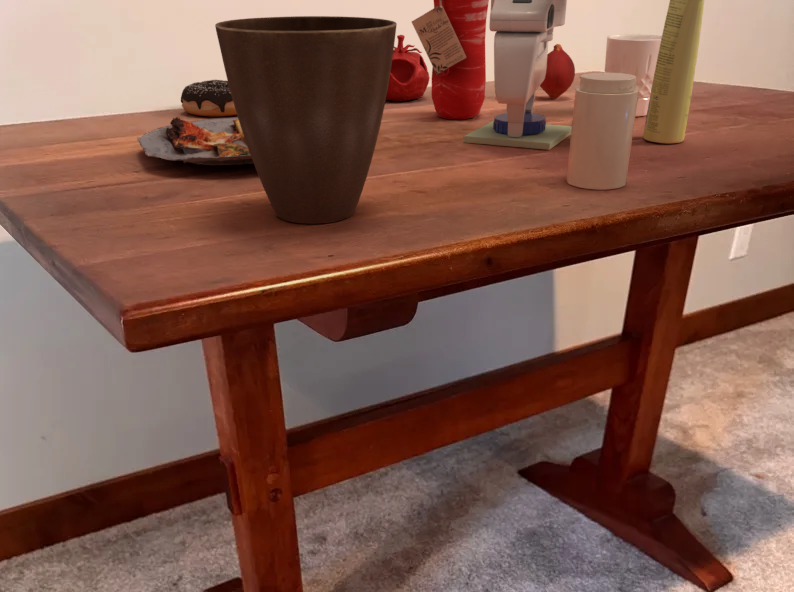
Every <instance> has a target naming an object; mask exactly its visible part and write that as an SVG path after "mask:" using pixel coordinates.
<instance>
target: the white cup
mask: <svg viewBox="0 0 794 592" xmlns="http://www.w3.org/2000/svg"><path fill="white" fill-rule="evenodd" d="M661 38H662V35H655V34H640V33H638V34H634V33H633V34H626V33H625V34H613V35H608V36H607V37H606V45H605V46H606V47H605V61H604V72H606V73H624V74H631V75H634V76H636V83H637V86H635V88H636V89H638V90H639V93H638V100H637V107H636V115H635V118H636V117H647V111H648V105H649V100H650V94H651V89H652V83H653V78H654V73H655V68H656V63H657V58H658V53H659V48H660V43H661Z"/></svg>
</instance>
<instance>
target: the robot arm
mask: <svg viewBox="0 0 794 592" xmlns="http://www.w3.org/2000/svg"><path fill="white" fill-rule="evenodd" d="M567 3H568V0H490V13H489V25H488V27H489V31H490V32H495V33H494V38H493V73H494V74H493V76H494V93H495V100H496V102H497V103H498V104H501V105H506V113H507V117H508V136H509V137H513V138H519V137H521V136H522V134H523V132H524V113H533V109H534V103H535V100H536V95H537V93H536V92H537V90H538V89H539V87H540V85H541V83H542V82H543V81H544V79H545V76H546V69H547V55H548V53H549V52H548V51H549V42H551V41H553V39H554V28H555V27H561V26H564V25H565V23H566V13H567Z"/></svg>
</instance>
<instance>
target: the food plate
mask: <svg viewBox="0 0 794 592" xmlns="http://www.w3.org/2000/svg"><path fill="white" fill-rule="evenodd" d="M136 141H138V143H139V145H140V147H141V149H142V151H144V154H145V156H147V157H154V158H161V159H162V160H163V159H164V160H167V161H172V162H176V161H181V162H183V164H187V163H192V164H195V165H199V166H200V165H204V166H240V165H248V164H249V165H250V164H251V165H254V163H253V160H252V157H251V155H250V152H249V149H248V146H247V143H246V141H245V138H244V135H243V132H242V129H241V126H240V122H239V119H238V116H236V117H213V118H207V119H196V120H191V121H188V120H187V121H186V120H184V119H181V117H180V116H176V117H175V118H174V117H173V118H172V119H171V121H170V125H165V126H161V127H157V128H155V129H153V130H150V131H147V132H145V133H143V135H141V136H139V137H137V138H136Z"/></svg>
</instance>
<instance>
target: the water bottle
mask: <svg viewBox="0 0 794 592" xmlns="http://www.w3.org/2000/svg"><path fill="white" fill-rule="evenodd" d="M489 2H490V0H433V8H432V9H430V10H429V11H427V12H425V13H423V14H422V15H420V16H419V17H417V18H415V19H413V20H411V24H412V26H413V28H414V30H415V32H416V34H417V36H418V39H419V41H420V43H421V45H422V47H423V49H424V51H425V53H426V55H427V58H428V60H429V62H430V64H431V66H432V71H431V99H432V102H433V107H434V110H435V113H436V114H437V116H438V117H439V118H441V119H445V120H470V119H473V118H476V117H477V116H479V114H480V112H481V110H482V107H483V104H484V102H485V97H486V84H487V83H486V82H487V81H486V80H487V77H486V75H487V73H486V72H487V71H486V69H487V68H486V67H487V65H486V64H487V63H486V34H487V33H486V31H487V30H486V29H487V17H488V10H489Z"/></svg>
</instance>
